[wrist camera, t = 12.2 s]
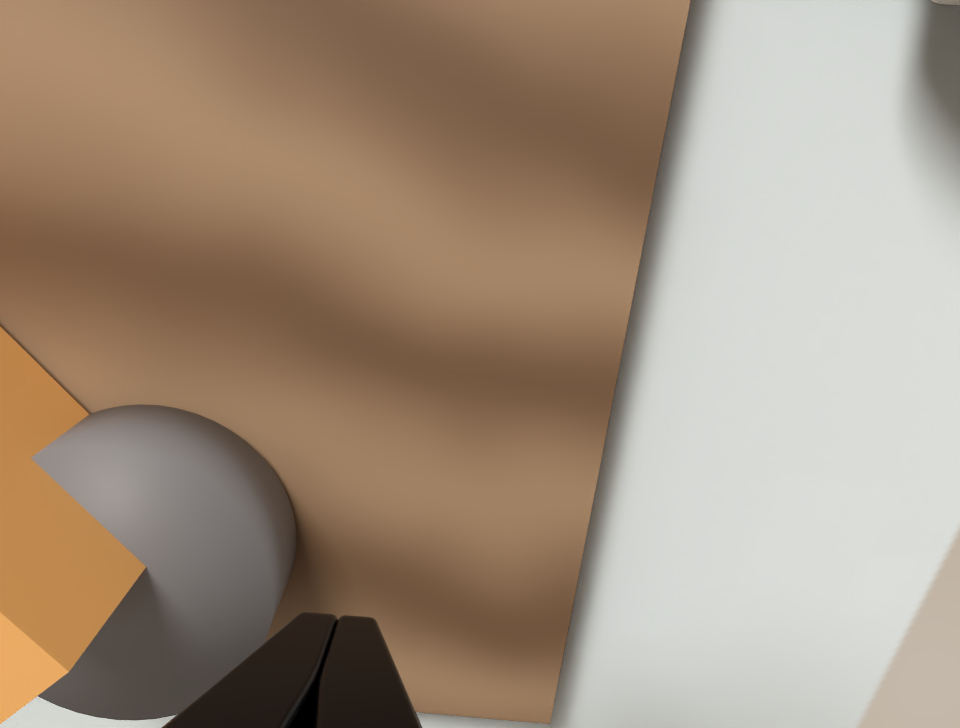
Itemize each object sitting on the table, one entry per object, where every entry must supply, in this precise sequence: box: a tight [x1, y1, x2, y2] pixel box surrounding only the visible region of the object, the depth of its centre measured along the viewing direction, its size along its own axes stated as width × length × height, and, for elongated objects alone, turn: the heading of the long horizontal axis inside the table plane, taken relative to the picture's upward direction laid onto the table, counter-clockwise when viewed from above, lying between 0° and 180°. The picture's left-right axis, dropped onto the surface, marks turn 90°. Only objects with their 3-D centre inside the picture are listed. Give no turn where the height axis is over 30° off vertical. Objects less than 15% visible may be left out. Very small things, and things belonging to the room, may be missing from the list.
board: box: [0, 0, 691, 724], centre depth 18 cm, size 22×22×2 cm
